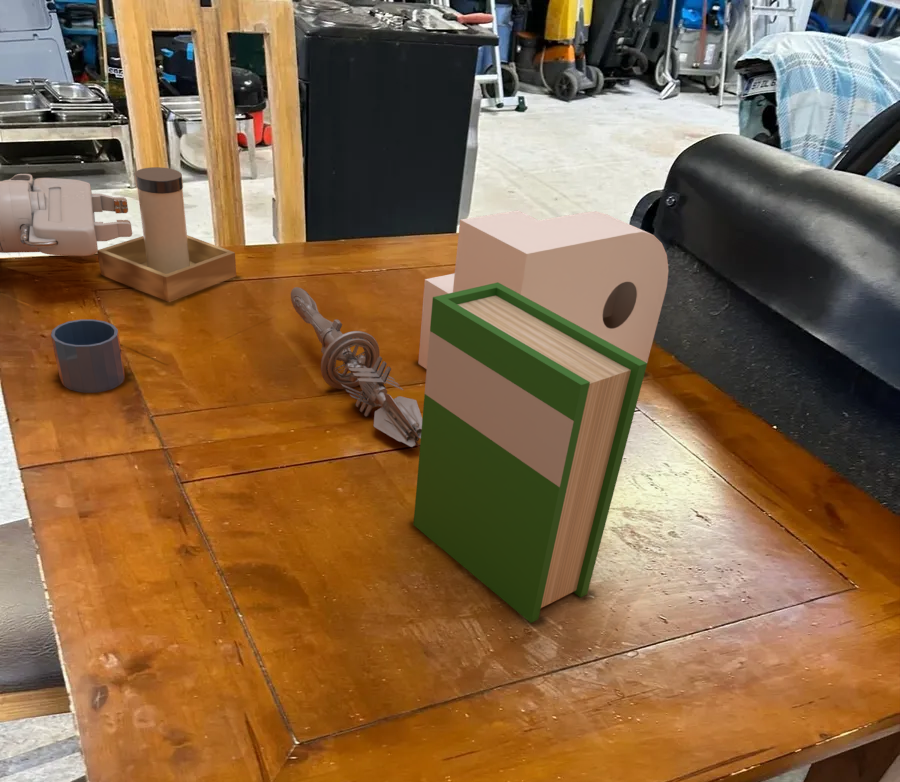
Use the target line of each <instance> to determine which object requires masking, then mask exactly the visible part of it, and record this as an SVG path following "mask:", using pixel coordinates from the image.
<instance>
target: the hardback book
mask: <svg viewBox="0 0 900 782" xmlns="http://www.w3.org/2000/svg"><path fill="white" fill-rule="evenodd" d="M647 366H648V362H647V363H646V362H644V361H642V360H640V359H639V358H637V357H635V356H633V355H631V354H629V353H628V352H626V351H624V350H622V349H620V348H618V347H616V346H615V345H613V344H611V343H609V342H607V341H605V340H604V339H602V338H600V337H598V336H596V335H594V334H592V333H591V332H589V331H587V330H585V329H583V328H581V327H580V326H578V325H576V324H574V323H572V322H570V321H568V320H567V319H565V318H563V317H561V316H559V315H557V314H556V313H554V312H552V311H550V310H548V309H546V308H544V307H543V306H541V305H539V304H537V303H535V302H533V301H532V300H530V299H528V298H526V297H524V296H522V295H520V294H519V293H517V292H515V291H513V290H511V289H509V288H508V287H506V286H504V285H502V284H500V283H498V282H497V283H493V284H488V285H484V286H480V287H475V288H471V289H466V290H462V291H458V292H453V293H449V294H444V295H440V296H436V297H433V301H432V313H431V324H430V336H429V348H428V359H427V369H426V373H425V385H424V396H423V408H422V430H421V438H420V443H419V446H420V448H419V455H418V467H417V478H416V488H415V489H416V490H415V500H414V502H415V503H414V511H413V512H414V514H413V524H412V525H413V526H414V527H415V528H417V529H418V530H419V531H420V532H421V533H422V534H424V535H425V536H426V537H427V538H428V539H430V540H431V541H432V542H433V543H434V544H435V545H436V546H438V547H439V548H440V549H441V550H443V551H444V552H445V553H446V554H448V555H449V556H450V557H451V558H452V559H453V560H455V561H456V562H457V563H458V564H459V565H461V566H462V567H463V568H464V569H466V570H467V572H469V573H470V574H471V575H472V576H474V577H475V578H476V579H477V580H479V581H480V582H481V583H482V584H483V585H485V586H486V587H487V588H488V589H489V590H491V591H492V592H493V593H494V594H495V595H497V596H498V597H499V598H500V599H501V600H503V601H504V602H505V603H506V604H507V605H508V606H510V607H511V608H512V609H513V610H515V611H516V612H517V613H518V614H519V615H520V616H521V617H522V618H524V619H525V620H526V621H527V622H529V623H530V624H533V623H534V622H536V621H538V620H539V618H540V613H541V609H542V608H544V607H546V606H548V605H551V604H552V603H554V602H556V601H559V600H560V599H563V598H564V597H567V596H568V595H570V594H572V593H573V594H575V595H576V596H577V597H578V598H583V597H585V596H587V595H588V592H589V589H590V585H591V581H592V578H593V574H594V570H595V565H596V562H597V558H598V555H599V550H600V548H601V547H600V546H601V543H602V538H603V535H604V530H605V528H606V524H607V520H608V517H609V516H608V515H609V511H610V509H611V505H612V500H613V497H614V493H615V490H616V489H615V488H616V484H617V482H618V478H619V473H620V470H621V466H622V461H623V459H624V454H625V451H626V447H627V443H628V438H629V435H630V431H631V427H632V423H633V420H634V416H635V413H636V408H637V404H638V401H639V396H640V392H641V389H642V385H643V381H644V377H645V374H646V371H647V370H646V369H647Z"/></svg>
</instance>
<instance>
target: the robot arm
mask: <svg viewBox="0 0 900 782" xmlns="http://www.w3.org/2000/svg"><path fill="white" fill-rule="evenodd" d="M103 211H104V212H115V214H127V213H128V212H129V206H128V200H127V198H126V197H125V196H111V195H108V194H103V193H93V192H92V187H91V184H90V182H87V181H84V180H80V179H71V178H59V177H37V178H36V179H34V177H33V175H32V174H31V173H18V174H17V173H16V174H15V175H14V176H12V177H10V178H9V179H5V180H0V253H1V254H15V253H17V254H18V253H42V254H44V255H50V256H66V257H89V256H93V255H96V254H97V252H98V250H99V248H98V247H99V246H98V242H109V241H112V240H116V239H118V238H130V237H132V236H133V229H132V228H133V227H132V222H131V221H130V220H129V219H116V221H112V222H104V221H96V215H95V213H103Z"/></svg>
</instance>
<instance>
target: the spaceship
mask: <svg viewBox="0 0 900 782" xmlns="http://www.w3.org/2000/svg"><path fill="white" fill-rule="evenodd" d="M290 300H291V304H292V306H293V309H294V310H295V312H296V313H297V314H298V315H299V317H300V318H301V319H302V320H303V321H304V323H306V324H310V325H311V326H312V328H313V330H314V332H315V334H316V337H317V340H318V341H319V342H320V343H321V349H320V350H321V354H322V357H321V362H320V373H321V376H322V378H323V380H324V382H325V383H326V384H327V385H328V386H330V387H332V388H333V389H337V390H345V391H346V392H347V393H349V396H350V397H351V398H353V399H355V400H356V403H355V407H356V408H359V411H360V413H363V415H364V417H366V418H367V417H369V415H370V414H371V412H372V410H373V409H374V408H375V407H380V408H378V409H377V410H375V411H374V414H373V415H374V417H373V428H375V429H377V430H378V431H380V432H382V433H383V434H386V436H388V437H390V438H392V439H394V440H395V441H397V442H399V443H403V444H405V445H406V446H408V447H410V448H413V447H415V446H416V447H417V448H418V449H420V443H419V440H420V439H421V430H422V418H423V415H422V413H421V410H420V408H419V404H418V401H417V399H414V398H409V397H404V396H401V395H399V396H397V397H395V398H393V397H392V396H391V395H390V394H389V393H388V390H387V387H386V385H387V384H388V385H390V386H393V387H394V388H397V389H399V390H401V391H404V389H403V387H401V386H400V383H398V382H396V379H395V378H394V377H392V376H390V373H391V371H392V368H391V366H387V364H388V363H387V362H386V361H382V360H383V357H382V356H381V355H380V354H381V353H380V346H379V344H378V341H377V340H376V338H375V337H374V336H373V335H371V334H370V333H368V332H366V331H361V330H352V331H347V332H345V333H343V332H342V331H341V329H342V327H343V323H342V322H341V320H339V319H333V321H331V320H329V319H327V318H325V317H324V316H323V315H322V314H321V313H320V311H319V308H318V306H317V303H316V301H315V300H314V298H312V297H311V295H310V294H309V292H307V291H306V290H305V289H304V288H301V287H300V286H299V287H298V286H295V287H293V288H292V289H291V291H290ZM352 347H354V348H353V349H352V350H353V351H352V350H351V348H352ZM359 347H360V348H362V349H363V351H362V352H361V353H359V354H357V353H358V350H359ZM337 361H338V362H342V364H340V365H339V366H337V367H336V365H337ZM385 368H386V369H385ZM342 370H344V371H343V372H342V373H340V371H342ZM357 387H360V389H361V390H360V391H359V390H357V389H356V388H357ZM354 388H355V389H354Z"/></svg>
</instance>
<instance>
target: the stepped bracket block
mask: <svg viewBox="0 0 900 782" xmlns="http://www.w3.org/2000/svg"><path fill="white" fill-rule="evenodd" d="M457 236H458V237H457V246H456V247H457V248H456V257H455V266H454V272H453V273H450V274H445V275H440V276H435V277H429V278H424V285H423V298H422V299H423V300H422V312H421V323H420V325H421V326H420V338H419V350H418V363H417V364H418V365H419V366H421V367H422V368H424V369H425V370H427V359H428V348H429V336H430V324H431V313H432V301H433V297H436V296H440V295H444V294H449V293H453V292H458V291H462V290H466V289H471V288H475V287H480V286H484V285H488V284H493V283H497V282H498V283H500V284H502V285H504V286H506V287H508V288H509V289H511V290H513V291H515V292H517V293H519V294H520V295H522V296H524V297H526V298H528V299H530V300H532V301H533V302H535V303H537V304H539V305H541V306H543V307H544V308H546V309H548V310H550V311H552V312H554V313H556V314H557V315H559V316H561V317H563V318H565V319H567V320H568V321H570V322H572V323H574V324H576V325H578V326H580V327H581V328H583V329H585V330H587V331H589V332H591V333H592V334H594V335H596V336H598V337H600V338H602V339H604V340H605V341H607V342H609V343H611V344H613V345H615V346H616V347H618V348H620V349H622V350H624V351H626V352H628V353H629V354H631V355H633V356H635V357H637V358H639V359H640V360H642V361H644V362H646V363H647V364H648V362H649V357H650V354H651V349H652V347H653V342H654V339H655V336H656V335H655V334H656V331H657V327H658V323H659V319H660V315H661V311H662V308H663V303H664V300H665V297H666V292H667V287H668V280H669V279H668V278H669V271H670V270H669V261H668V255H667V252H666V250H665V246H664V245H663V243H662V242H661V240H659V238H657V237H656V236H655V235H654V234H652V233H650V232H649V231H645V230H644V229H640V228H639V227H636V226H634V225H632V224H629V223H628V222H625V221H623V220H621V219H618V218H616V217H614V216H611V215H610V214H606V213H603V212H600V211H597V210H593V211H592V210H591V211H585V212H579V213H573V214H567V215H561V216H556V217H550V218H544V219H538V218H535V217H533V216H531V215H529V214H527V213H524V212H523V211H520V210H519V209H518V210H511V211H505V212H499V213H493V214H487V215H480V216H474V217H467V218H462V219H459V228H458V235H457Z"/></svg>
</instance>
